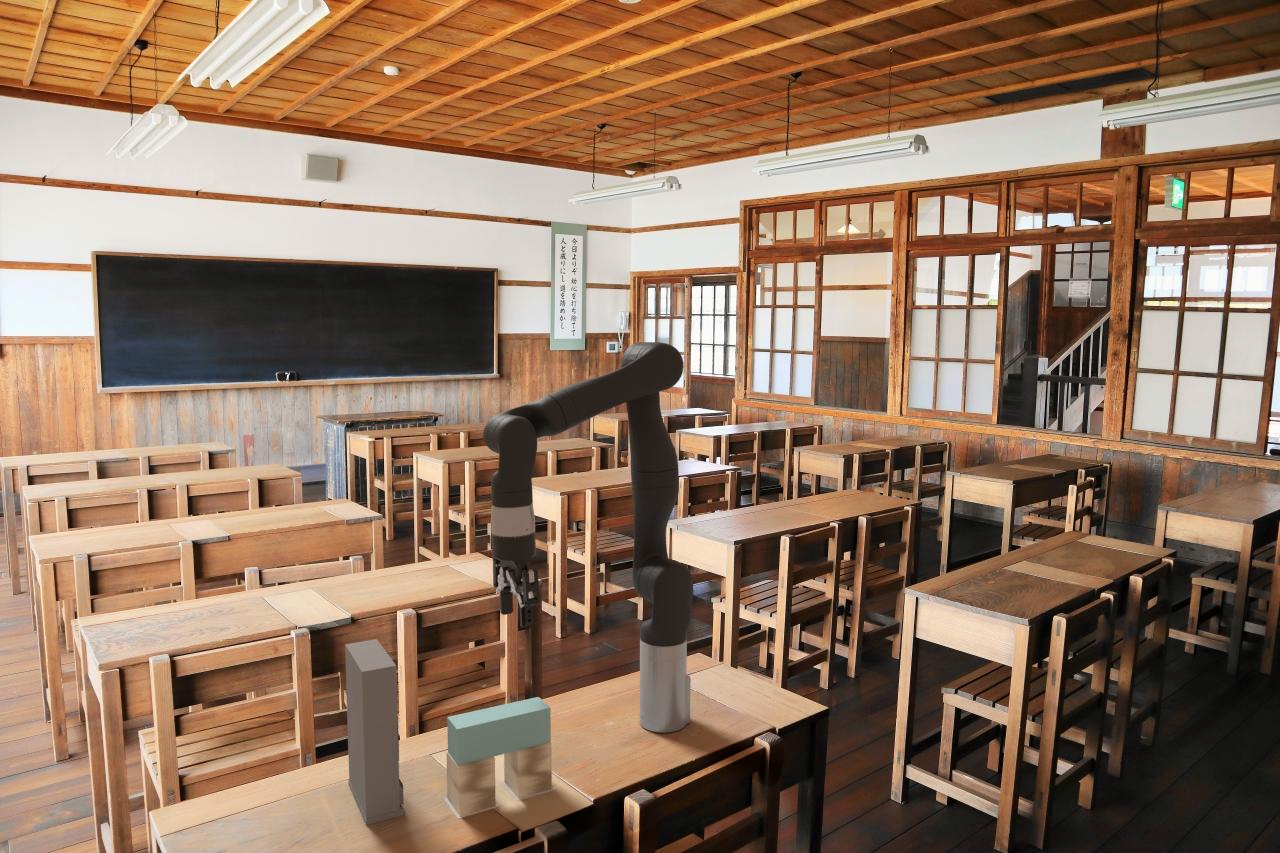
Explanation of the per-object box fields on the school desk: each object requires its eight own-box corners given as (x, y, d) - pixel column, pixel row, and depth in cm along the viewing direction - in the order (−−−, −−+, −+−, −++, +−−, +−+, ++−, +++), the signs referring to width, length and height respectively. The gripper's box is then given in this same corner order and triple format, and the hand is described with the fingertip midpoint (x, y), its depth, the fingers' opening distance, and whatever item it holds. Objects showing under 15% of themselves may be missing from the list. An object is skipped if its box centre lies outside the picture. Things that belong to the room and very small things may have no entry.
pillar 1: (482, 788, 141) (481, 743, 140) (495, 805, 136) (494, 758, 135) (447, 798, 138) (446, 751, 137) (459, 816, 132) (458, 767, 132)
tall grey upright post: (405, 817, 133) (401, 664, 131) (365, 828, 130) (361, 672, 128) (385, 778, 145) (381, 637, 143) (348, 787, 142) (344, 644, 140)
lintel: (538, 730, 145) (538, 696, 144) (550, 742, 140) (550, 707, 140) (447, 752, 137) (447, 717, 136) (457, 765, 132) (456, 729, 132)
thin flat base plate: (542, 768, 149) (542, 765, 149) (567, 793, 140) (567, 790, 140) (431, 799, 138) (431, 796, 138) (451, 829, 130) (451, 826, 130)
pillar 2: (536, 773, 146) (536, 729, 145) (551, 788, 141) (551, 743, 140) (504, 782, 143) (503, 737, 142) (518, 798, 138) (518, 752, 137)
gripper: (551, 534, 141) (554, 627, 143) (516, 519, 153) (519, 605, 155) (510, 541, 137) (513, 636, 139) (477, 525, 149) (481, 613, 151)
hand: (516, 620), depth 147 cm, fingers open, 8 cm apart
